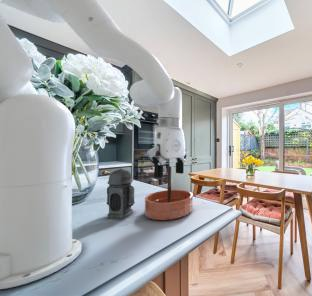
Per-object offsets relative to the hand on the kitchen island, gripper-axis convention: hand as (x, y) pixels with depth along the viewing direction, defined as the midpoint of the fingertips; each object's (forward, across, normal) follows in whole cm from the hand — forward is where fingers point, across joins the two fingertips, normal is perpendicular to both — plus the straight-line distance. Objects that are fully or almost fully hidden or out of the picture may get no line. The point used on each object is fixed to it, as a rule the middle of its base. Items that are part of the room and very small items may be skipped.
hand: (169, 175), depth 57 cm
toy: (+13, -9, +12) cm, 20 cm away
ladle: (+12, 0, 0) cm, 12 cm away
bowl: (+12, 0, 0) cm, 12 cm away
